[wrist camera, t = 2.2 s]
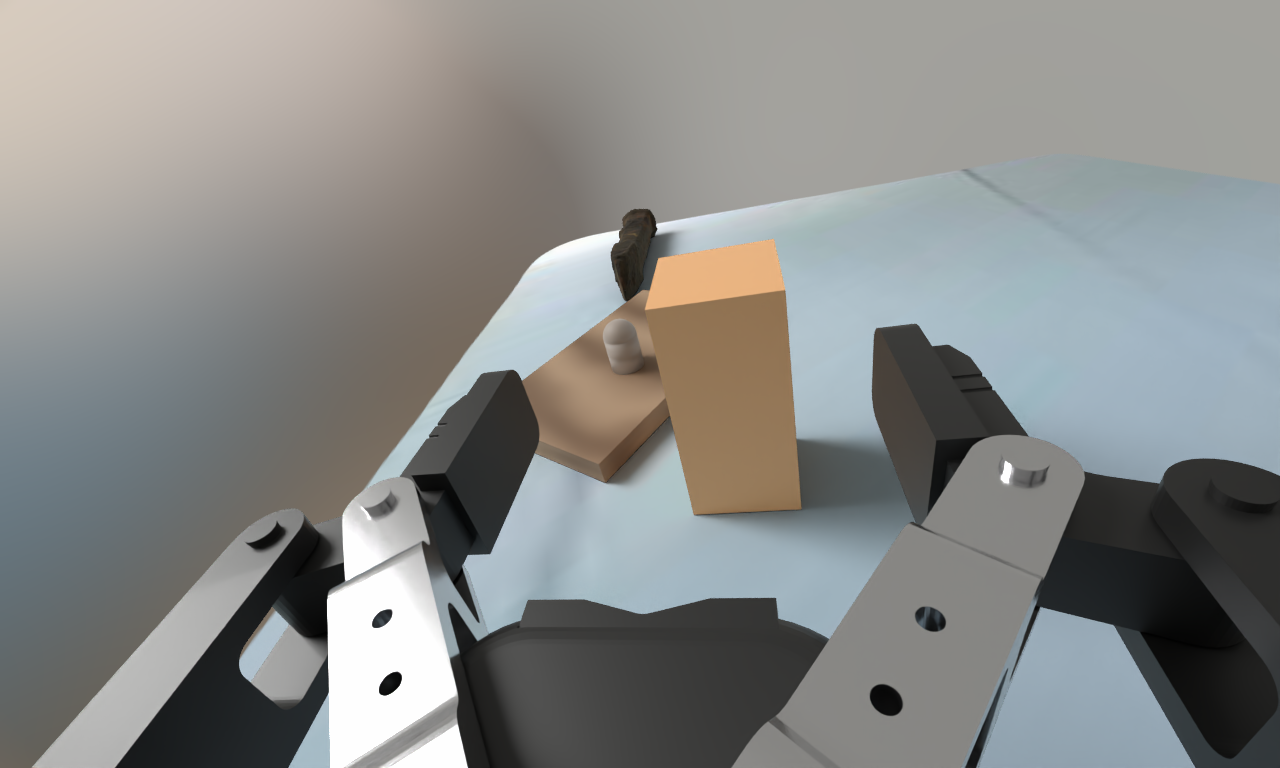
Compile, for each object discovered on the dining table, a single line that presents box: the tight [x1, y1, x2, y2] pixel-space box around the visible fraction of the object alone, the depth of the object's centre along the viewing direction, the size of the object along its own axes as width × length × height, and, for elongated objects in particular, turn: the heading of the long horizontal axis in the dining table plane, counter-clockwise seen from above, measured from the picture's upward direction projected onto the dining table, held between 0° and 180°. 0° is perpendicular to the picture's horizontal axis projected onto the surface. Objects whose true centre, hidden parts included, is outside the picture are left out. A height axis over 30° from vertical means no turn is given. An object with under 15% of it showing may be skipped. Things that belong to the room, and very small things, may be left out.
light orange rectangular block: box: [645, 239, 801, 515], centre depth 26 cm, size 5×5×12 cm
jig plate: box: [522, 290, 670, 483], centre depth 39 cm, size 20×12×5 cm, turn 143°
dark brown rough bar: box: [611, 209, 657, 301], centre depth 58 cm, size 19×4×5 cm, turn 173°
